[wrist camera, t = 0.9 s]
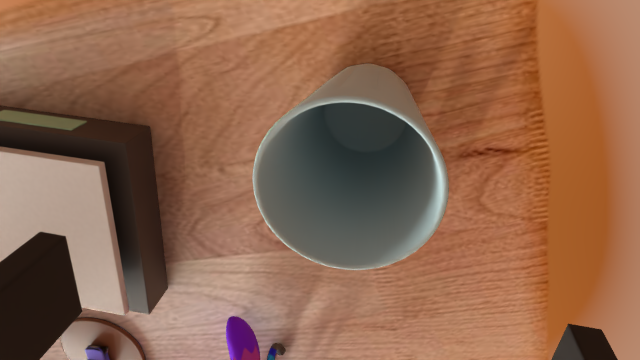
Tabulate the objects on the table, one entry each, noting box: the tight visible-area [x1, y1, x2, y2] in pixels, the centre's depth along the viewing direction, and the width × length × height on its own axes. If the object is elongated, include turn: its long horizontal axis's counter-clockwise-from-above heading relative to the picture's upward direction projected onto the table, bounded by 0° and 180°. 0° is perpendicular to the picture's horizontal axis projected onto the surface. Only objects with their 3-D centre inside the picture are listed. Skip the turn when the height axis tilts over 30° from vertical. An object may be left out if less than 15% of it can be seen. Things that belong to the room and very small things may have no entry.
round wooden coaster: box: [61, 318, 145, 360], centre depth 40 cm, size 8×8×2 cm
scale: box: [0, 106, 168, 316], centre depth 32 cm, size 14×14×4 cm
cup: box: [253, 63, 449, 270], centre depth 22 cm, size 8×8×10 cm
